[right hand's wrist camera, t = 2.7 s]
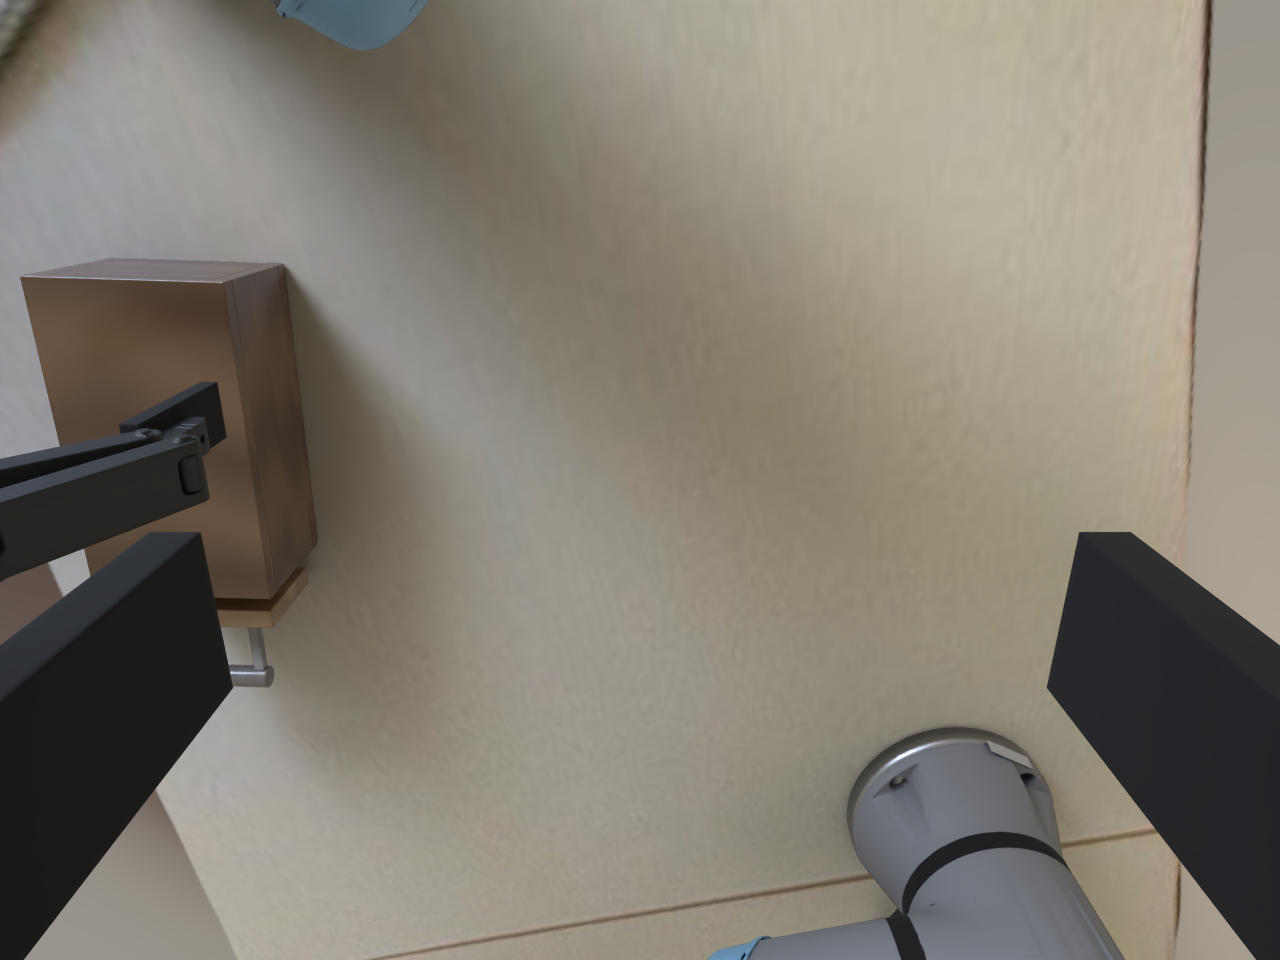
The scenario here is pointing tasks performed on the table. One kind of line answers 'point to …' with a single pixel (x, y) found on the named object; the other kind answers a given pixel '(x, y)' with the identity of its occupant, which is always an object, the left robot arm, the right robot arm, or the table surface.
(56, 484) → the left robot arm
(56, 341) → the cabinet
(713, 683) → the table surface
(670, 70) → the table surface
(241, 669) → the drawer
